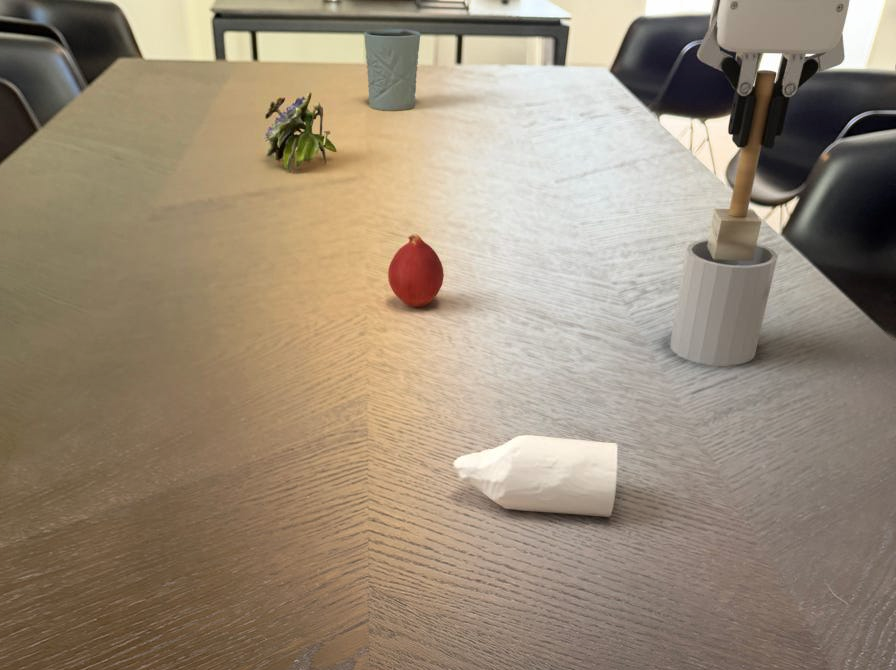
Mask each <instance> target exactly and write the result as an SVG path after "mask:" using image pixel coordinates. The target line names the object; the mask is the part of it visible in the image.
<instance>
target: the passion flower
mask: <svg viewBox="0 0 896 670" xmlns="http://www.w3.org/2000/svg"><path fill="white" fill-rule="evenodd" d="M312 94H313V93H312V91H309V92H307V95H306V97H305V96H302V97H298V98H296V100H295V101H294V102H292V103H291V105H290V106H287V107H286V110H285V109H283V111H281V110H280V109H279V108H280V107H281V106H282V105H283V104H284V102H285V101H286V97H284V96H283V97H280V96H278V97H277V99H276V100H275V102H274V101H271V102H270V104H269V106H270V107H269V108H268V110H267V111H266V112H265V113H264V114H265V116H264V118H265V119H266V120H268V119H269V118H270V117H271V116H272V115H273V114H274V113H277V114H278V116H277V117H275V120H274V123H271V126H269V127H268V128H267V131H266V132H265V136H266V137H264V140H265V142H267V141H268V144H269V147H268V150H267V153H266V156H267V157H271V156H273V158H274V159H275V160H276V161H280V160H282V159H283V160H282V162H283V166H284V169H285V170H287V172H288V173H291V171H292V170H291V169H292V168H291V167H292V163H293V160H294V164H295V167H296V168H299V167H301V166H302V165H304V163H305V162H306V163H310V162H312V161H313V160H315V158H316V157H317V155H318V154H319V150H320V152H321V154H322V157H323V160H324V164H325V165H327V164H328V163H327V158H326V157H327V156H326V150H328V151H330V152H333V153H337V148H336V146H335V145H334V144H333V142H332V141H331V140H330V139H329V138H328V136H329V135H331V131H330V130H324V131H323V120H324V119H323V117H324V108H323V106H322V105H321V103H320V102H319V101H317V102H316V103H315V104H314V105H312V108H313V110H312V111H311V110H309V108H308V107H309V104H310V102H311V99H312ZM318 116H319V118H320V119H319V133H313V125H314V121H315V120H316V119H317V117H318ZM297 132H298V133H299V134H297ZM323 133H324V134H323ZM266 138H267V139H266Z"/></svg>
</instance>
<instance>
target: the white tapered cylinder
mask: <svg viewBox="0 0 896 670" xmlns="http://www.w3.org/2000/svg"><path fill="white" fill-rule="evenodd" d="M618 466H619V446H618V444H617V443H615V442H604V441H595V440H594V441H593V440H586V439H585V440H584V439H571V438H563V437H553V436H544V435H533V434H532V435H531V434H524V435H519V436H516V437H515V436H514V437H513V438H512V439H510V440H508V441H507V442H505V443H503V444H501V445H499V446H496V447H494V448H488V449H485V450H481V451H478V452H472V453H469V454H464V455H461V456H458V457H457V458H456V459H455V460H454V461H453V468H454V469H455V470H456V472H457V475H458V477H459V479H460V480H461V481H462V482H465V483H467V484H468V485H470V486H472V487H474V488H475V489H476V490H478V491H480V492H481V493H482V494H483V495H484V496H487V498H489V499H490V500H491V501H493V503H495V504H497V505H499V506H500V507H502V508H504V509H505V510H515V511H521V512H535V513H536V512H537V513H550V514H567V515H576V516H577V515H578V516H589V517H591V516H592V517H605V518H610V517H611V515H612V513H613V509H614V505H615V498H616V491H617V481H618V468H619V467H618Z"/></svg>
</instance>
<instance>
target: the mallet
mask: <svg viewBox="0 0 896 670" xmlns="http://www.w3.org/2000/svg"><path fill="white" fill-rule="evenodd" d="M776 77H777V72H776V71H774V70H766V69H761V70H757V71H756V73H755V78H754V83H753V86H754V93H753V95H754V96H755V97H756V105H755V110H754V115H753V120H752V125H751V130H750V135H749V140H748V144H747V146H745V147H744V148H740V149H741V150H740V153H739V154H740V155H739V159H738V164H737V170H736V174H735V180H734V183H733V184H734V185H733V189H732V194H731V199H730V204H729V208H714V209H713V213H712V219H711V224H710V229H709V234H708V238H707V239H708V244H707V248H708V250H709V252H710V254H711V256H712V257H713V259H714V260H744V261H753V258H754V253H755V249H756V244H757V243H758V239H759V234H760V231H761V226H762V220H761V219H760V217H759V216H758V214H757V213H756V212H755V210H754V209H749V205H750V202H751V197H752V192H753V186H754V183H755V178H756V173H757V168H758V163H759V160H760V159H759V158H760V154H761V150H762V149H761V148H762V146H763V145H762V140H763V135H764V130H765V125H766V121H767V116H768V111H769V106H770V102H771V97H772V93H773V88H774V83H775V82H776Z"/></svg>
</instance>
